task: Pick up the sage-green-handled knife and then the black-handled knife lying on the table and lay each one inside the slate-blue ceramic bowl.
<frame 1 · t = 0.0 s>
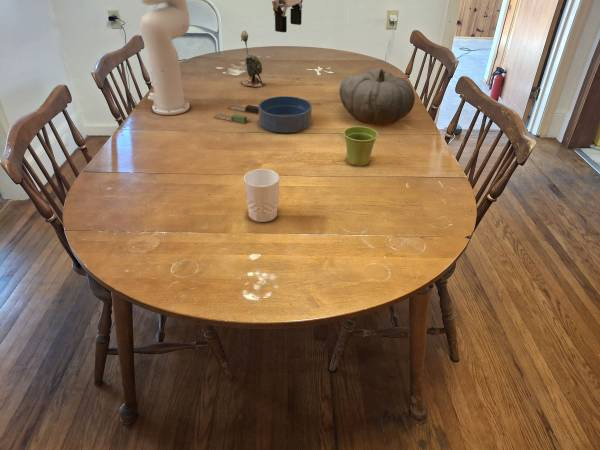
hand: (288, 27, 128), 31 cm above the table, tool pointing down, fingers open, 9 cm apart
bowl: (285, 123, 152), on the table
plant pot: (357, 162, 131), on the table
white cup: (263, 214, 109), on the table
grey tall irregular piece: (253, 85, 181), on the table
green knife: (231, 119, 154), on the table
gourd: (374, 117, 157), on the table
black knife: (244, 110, 160), on the table
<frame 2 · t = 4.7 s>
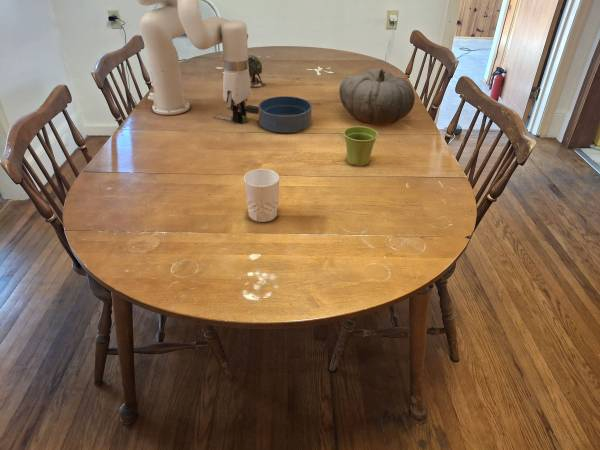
hand: (239, 120, 152), 0 cm above the table, tool pointing down, fingers closed on green knife, 1 cm apart
green knife: (231, 119, 154), on the table, touching gripper
everything else where it was.
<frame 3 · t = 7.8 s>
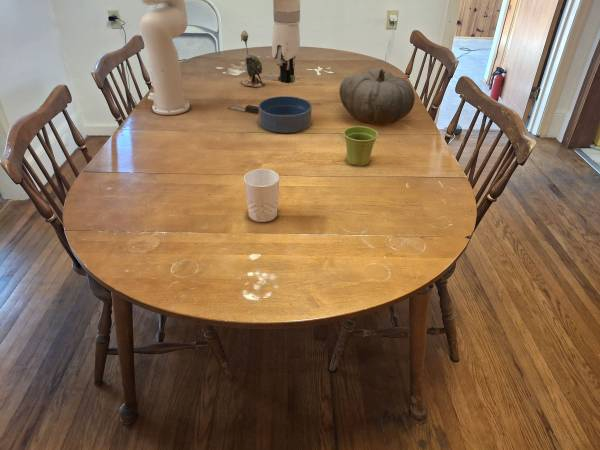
hand: (287, 80, 141), 15 cm above the table, tool pointing down, fingers closed on green knife
green knife: (277, 79, 142), point 15 cm above the table, touching gripper
everything else where it was.
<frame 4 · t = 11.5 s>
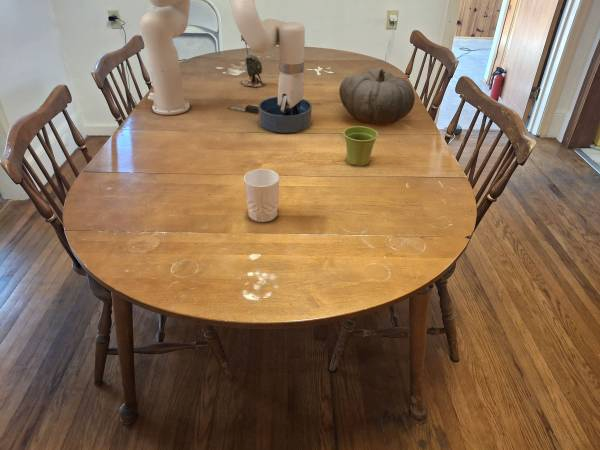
hand: (291, 123, 149), 1 cm above the table, tool pointing down, fingers open, 3 cm apart
green knife: (282, 122, 150), point 1 cm above the table, touching bowl
everything else where it was.
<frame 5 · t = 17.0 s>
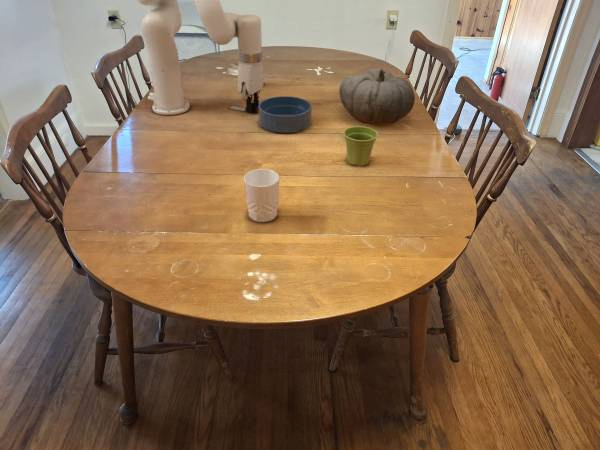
hand: (253, 111, 159), 0 cm above the table, tool pointing down, fingers closed on black knife, 1 cm apart
black knife: (244, 110, 160), on the table, touching gripper
everything else where it was.
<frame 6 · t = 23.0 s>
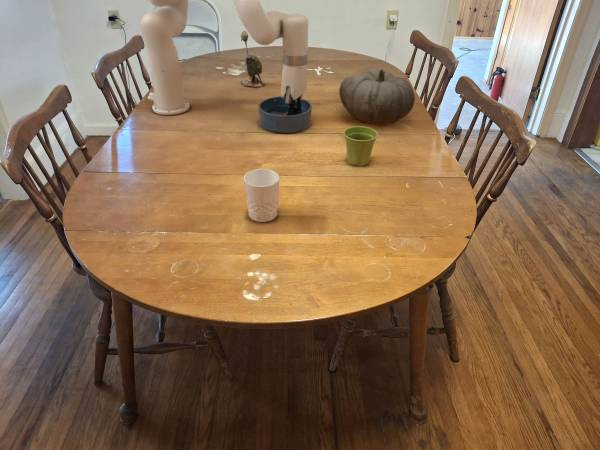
hand: (294, 116, 150), 2 cm above the table, tool pointing down, fingers closed on black knife
green knife: (282, 122, 150), point 1 cm above the table, touching bowl, gripper
black knife: (286, 115, 151), point 2 cm above the table, touching gripper
everything else where it was.
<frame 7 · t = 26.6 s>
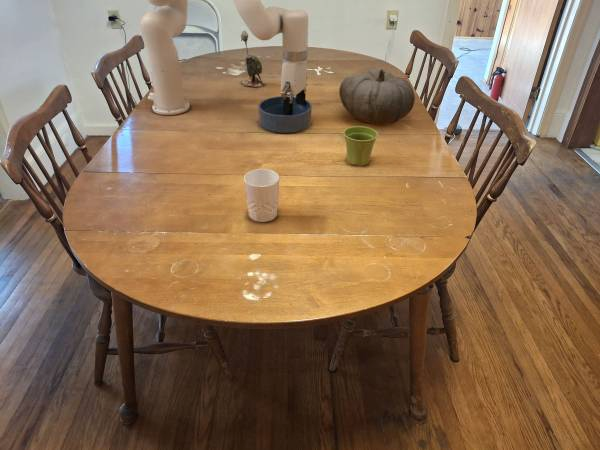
hand: (294, 109, 149), 5 cm above the table, tool pointing down, fingers open, 9 cm apart
green knife: (282, 122, 150), point 1 cm above the table, touching bowl
black knife: (285, 119, 152), point 1 cm above the table, touching bowl
everything else where it was.
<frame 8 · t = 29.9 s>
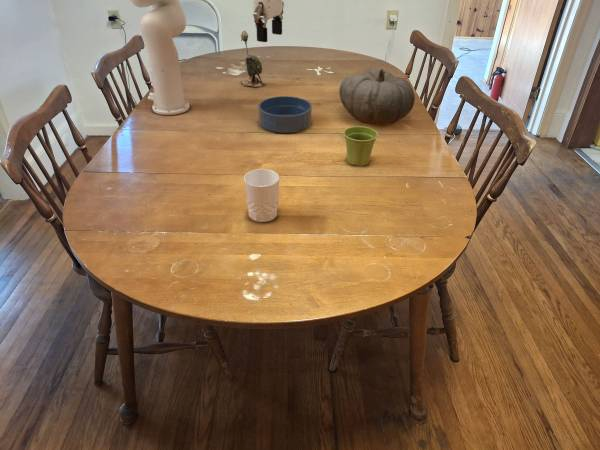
hand: (269, 37, 138), 26 cm above the table, tool pointing down, fingers open, 9 cm apart
nothing on the table moved.
at the end: green knife inside the target area in the bowl (1.4 cm from its centre), point 0.6 cm above the bowl's base; black knife inside the target area in the bowl (1.4 cm from its centre), point 0.6 cm above the bowl's base; the gripper is holding nothing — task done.
